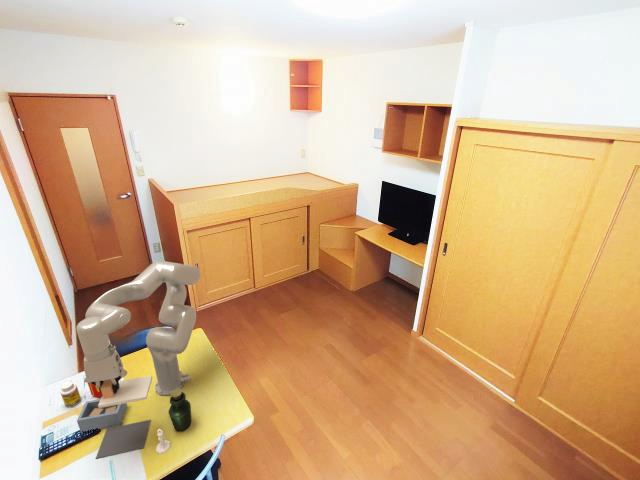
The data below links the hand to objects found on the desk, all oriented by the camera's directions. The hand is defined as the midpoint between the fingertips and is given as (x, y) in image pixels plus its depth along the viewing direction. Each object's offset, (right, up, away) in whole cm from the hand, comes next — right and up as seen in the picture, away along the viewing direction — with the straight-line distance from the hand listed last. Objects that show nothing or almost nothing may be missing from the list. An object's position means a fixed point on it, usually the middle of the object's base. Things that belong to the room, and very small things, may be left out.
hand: (110, 391), depth 112 cm
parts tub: (-13, -20, +17) cm, 29 cm away
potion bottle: (+19, -22, +16) cm, 33 cm away
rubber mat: (-1, -23, +10) cm, 25 cm away
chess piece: (+16, -25, +7) cm, 30 cm away
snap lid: (+5, -1, +2) cm, 5 cm away
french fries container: (-21, -15, +29) cm, 38 cm away
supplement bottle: (-32, -17, +24) cm, 43 cm away
